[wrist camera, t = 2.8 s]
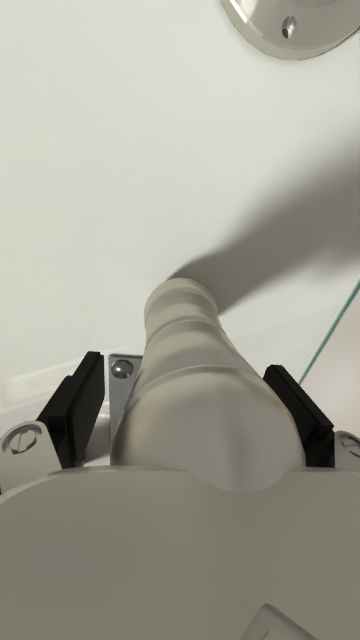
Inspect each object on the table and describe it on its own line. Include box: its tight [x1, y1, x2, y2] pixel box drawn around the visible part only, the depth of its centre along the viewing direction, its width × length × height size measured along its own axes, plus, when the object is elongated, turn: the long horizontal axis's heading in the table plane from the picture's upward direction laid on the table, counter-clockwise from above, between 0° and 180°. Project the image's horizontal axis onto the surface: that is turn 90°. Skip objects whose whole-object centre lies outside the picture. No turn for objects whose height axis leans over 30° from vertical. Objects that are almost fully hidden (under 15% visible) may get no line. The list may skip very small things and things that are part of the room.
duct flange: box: [109, 355, 143, 446], centre depth 26 cm, size 16×16×1 cm
